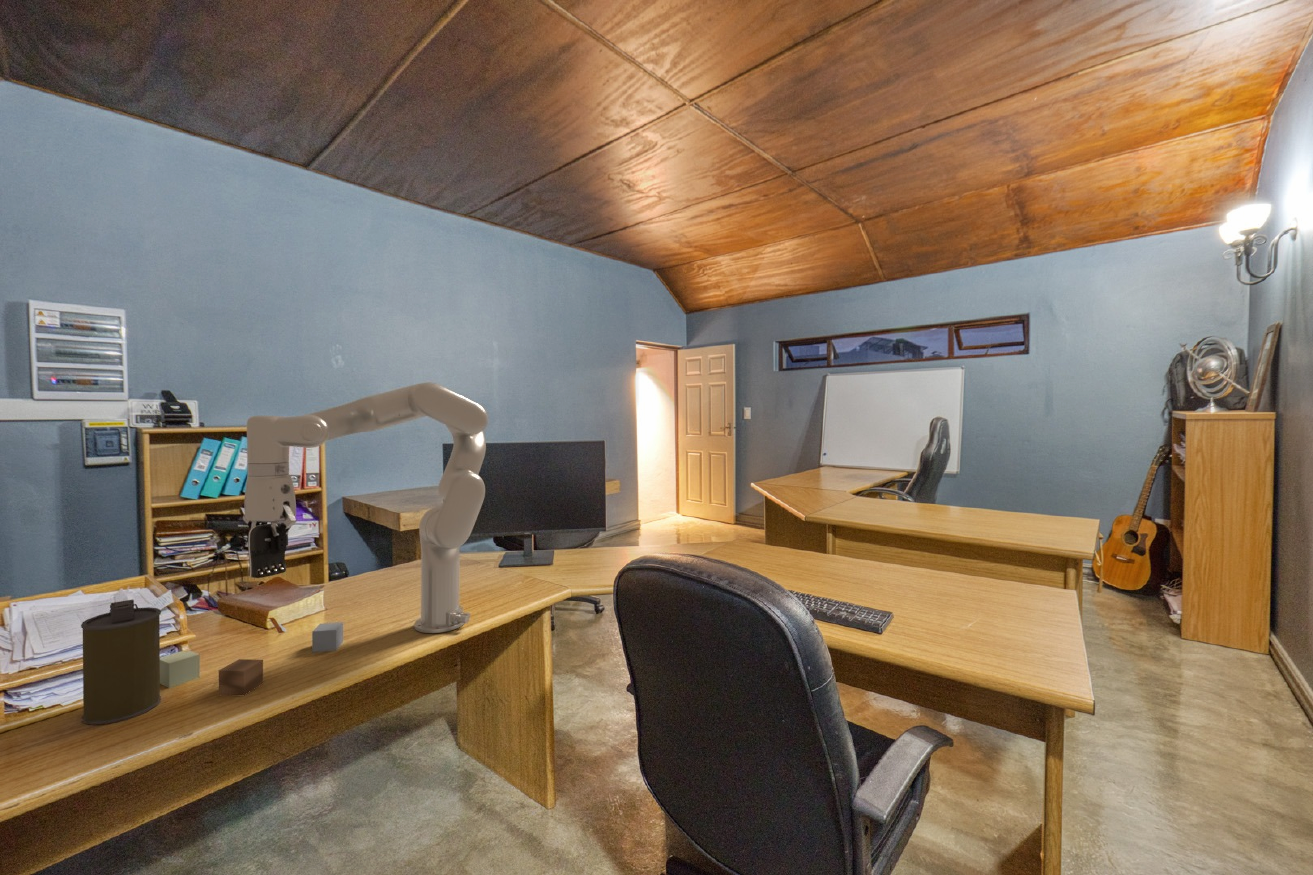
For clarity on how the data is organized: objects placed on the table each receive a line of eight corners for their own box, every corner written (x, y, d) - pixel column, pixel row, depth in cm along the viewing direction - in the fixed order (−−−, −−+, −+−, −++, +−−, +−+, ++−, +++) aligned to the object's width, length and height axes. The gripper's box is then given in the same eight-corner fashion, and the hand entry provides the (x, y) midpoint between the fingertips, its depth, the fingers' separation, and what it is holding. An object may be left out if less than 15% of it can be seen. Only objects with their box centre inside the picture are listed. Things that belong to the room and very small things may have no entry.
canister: (164, 708, 99) (164, 602, 98) (82, 732, 91) (81, 617, 90) (157, 689, 106) (157, 589, 105) (80, 709, 98) (80, 602, 98)
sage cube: (199, 677, 111) (199, 654, 111) (169, 688, 106) (169, 663, 106) (187, 672, 113) (187, 649, 113) (157, 682, 109) (157, 658, 109)
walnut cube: (263, 683, 109) (263, 659, 109) (243, 696, 104) (243, 671, 104) (239, 683, 109) (238, 659, 109) (218, 695, 104) (218, 670, 104)
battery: (257, 580, 115) (256, 528, 114) (247, 578, 116) (246, 526, 116) (291, 572, 121) (290, 522, 121) (281, 570, 123) (281, 521, 122)
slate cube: (343, 642, 130) (343, 622, 130) (336, 650, 125) (336, 629, 125) (320, 644, 129) (320, 623, 129) (312, 652, 124) (312, 631, 124)
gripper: (313, 470, 119) (314, 550, 120) (256, 468, 124) (257, 545, 124) (281, 473, 112) (282, 559, 113) (222, 471, 117) (224, 553, 117)
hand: (269, 551), depth 119 cm, fingers closed on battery, 4 cm apart
